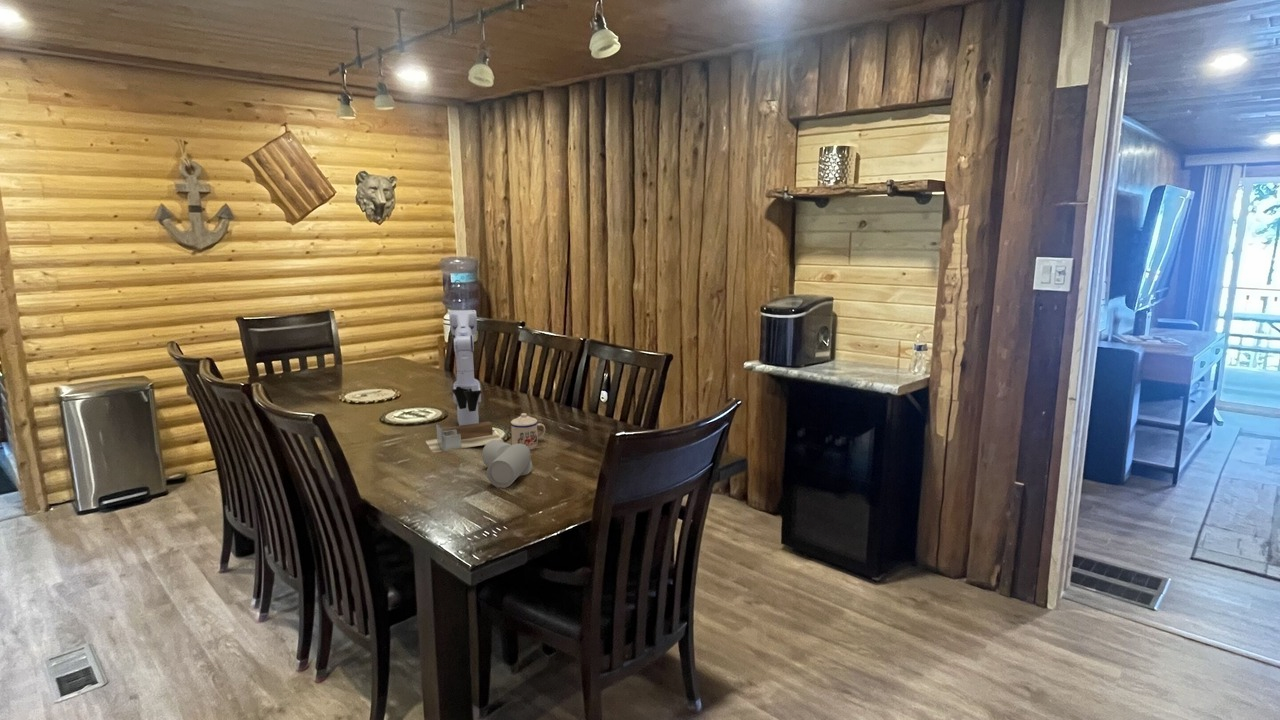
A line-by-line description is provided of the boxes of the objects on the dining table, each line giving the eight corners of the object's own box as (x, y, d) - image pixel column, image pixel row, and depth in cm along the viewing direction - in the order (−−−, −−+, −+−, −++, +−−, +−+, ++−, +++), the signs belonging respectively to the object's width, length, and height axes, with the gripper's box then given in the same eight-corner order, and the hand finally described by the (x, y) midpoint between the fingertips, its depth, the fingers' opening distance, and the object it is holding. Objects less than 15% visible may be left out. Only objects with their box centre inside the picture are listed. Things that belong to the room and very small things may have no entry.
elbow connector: (551, 470, 211) (508, 456, 224) (544, 440, 208) (501, 427, 220) (507, 500, 199) (465, 483, 212) (499, 468, 195) (456, 453, 208)
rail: (441, 439, 242) (441, 428, 241) (490, 432, 249) (489, 421, 248) (443, 442, 239) (443, 430, 238) (492, 434, 246) (492, 424, 245)
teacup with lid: (517, 452, 231) (515, 419, 228) (507, 445, 238) (506, 412, 236) (550, 446, 236) (549, 413, 234) (540, 439, 244) (539, 407, 242)
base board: (425, 443, 241) (424, 440, 240) (493, 433, 251) (493, 430, 251) (433, 455, 228) (432, 452, 228) (504, 444, 239) (504, 441, 239)
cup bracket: (437, 444, 236) (436, 424, 235) (456, 441, 239) (455, 421, 238) (442, 451, 229) (441, 430, 228) (461, 448, 232) (460, 428, 231)
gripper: (445, 370, 241) (447, 409, 243) (463, 373, 230) (465, 413, 231) (464, 368, 246) (466, 406, 247) (483, 371, 234) (485, 411, 236)
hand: (467, 409), depth 239 cm, fingers open, 7 cm apart
